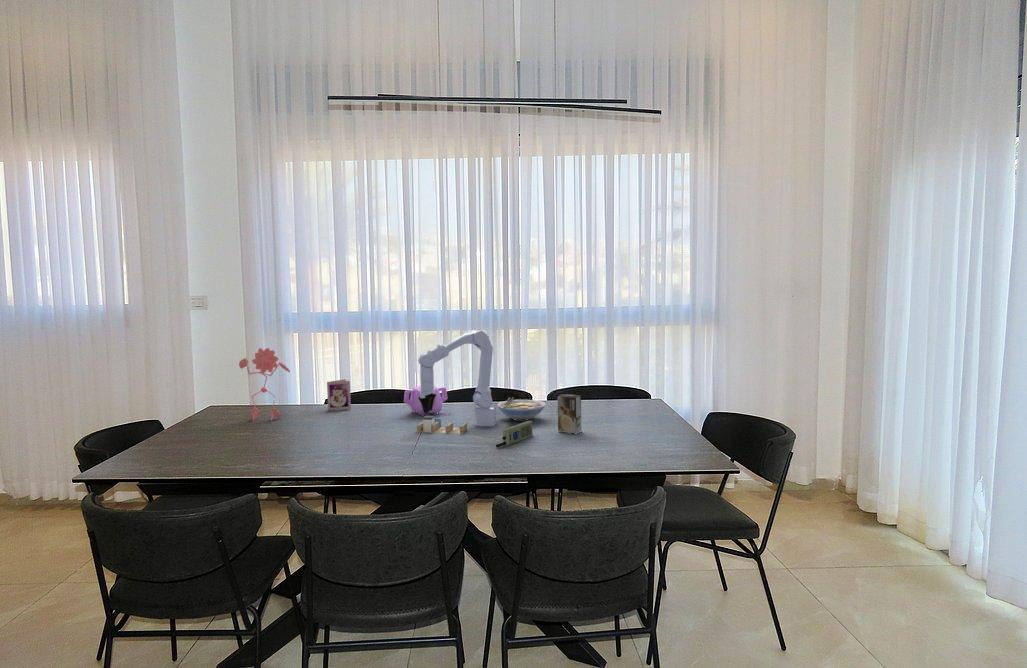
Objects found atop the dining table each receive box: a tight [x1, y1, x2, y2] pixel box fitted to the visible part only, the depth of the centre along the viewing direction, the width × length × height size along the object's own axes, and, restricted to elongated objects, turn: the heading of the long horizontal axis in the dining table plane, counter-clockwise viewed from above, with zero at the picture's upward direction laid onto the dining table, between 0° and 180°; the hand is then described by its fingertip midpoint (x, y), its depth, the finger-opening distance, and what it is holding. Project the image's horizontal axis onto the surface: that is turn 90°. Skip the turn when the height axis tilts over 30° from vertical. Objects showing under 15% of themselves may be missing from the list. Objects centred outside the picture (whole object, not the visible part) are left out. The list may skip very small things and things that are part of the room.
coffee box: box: [556, 393, 583, 434], centre depth 280 cm, size 9×6×16 cm
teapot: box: [403, 385, 449, 416], centre depth 323 cm, size 19×18×15 cm
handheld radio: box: [495, 420, 533, 449], centre depth 265 cm, size 7×3×25 cm
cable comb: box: [416, 417, 469, 435], centre depth 283 cm, size 20×11×5 cm, turn 80°
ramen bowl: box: [497, 396, 546, 421], centre depth 307 cm, size 25×23×8 cm
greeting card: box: [326, 378, 352, 412], centre depth 337 cm, size 11×7×15 cm, turn 104°
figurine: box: [238, 347, 291, 422], centre depth 315 cm, size 15×26×35 cm, turn 86°
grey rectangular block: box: [422, 415, 436, 431], centre depth 283 cm, size 4×4×6 cm
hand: (427, 411), depth 282 cm, fingers open, 4 cm apart
